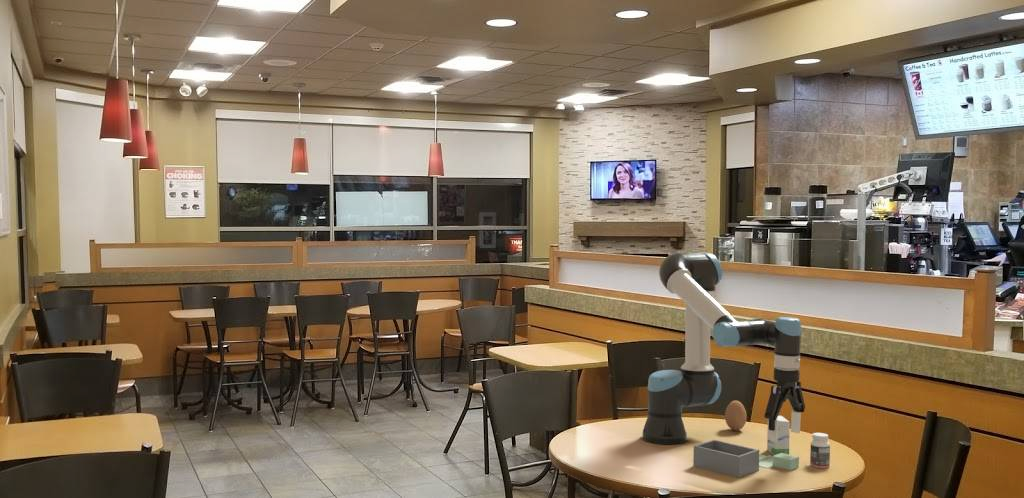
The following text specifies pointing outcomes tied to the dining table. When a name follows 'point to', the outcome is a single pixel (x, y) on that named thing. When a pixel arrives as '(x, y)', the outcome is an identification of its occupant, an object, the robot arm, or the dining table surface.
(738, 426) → the egg
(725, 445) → the tub
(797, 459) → the lid
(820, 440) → the pill bottle
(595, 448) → the dining table surface
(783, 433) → the ink box
